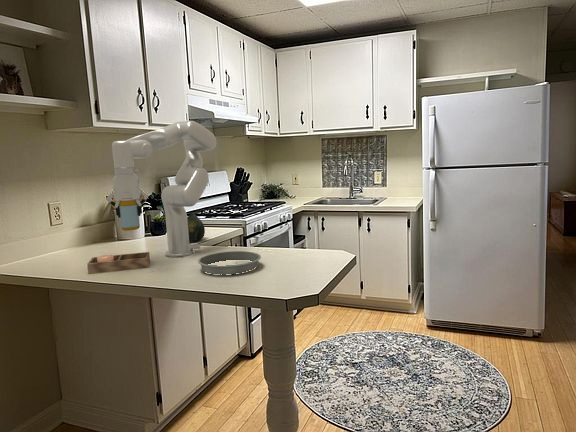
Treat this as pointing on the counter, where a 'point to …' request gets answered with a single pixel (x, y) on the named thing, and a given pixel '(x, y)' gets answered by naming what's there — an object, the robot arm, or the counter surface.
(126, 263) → the caddy
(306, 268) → the counter surface
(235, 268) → the cake pan
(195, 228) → the squash
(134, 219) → the bottle
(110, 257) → the pink small block
